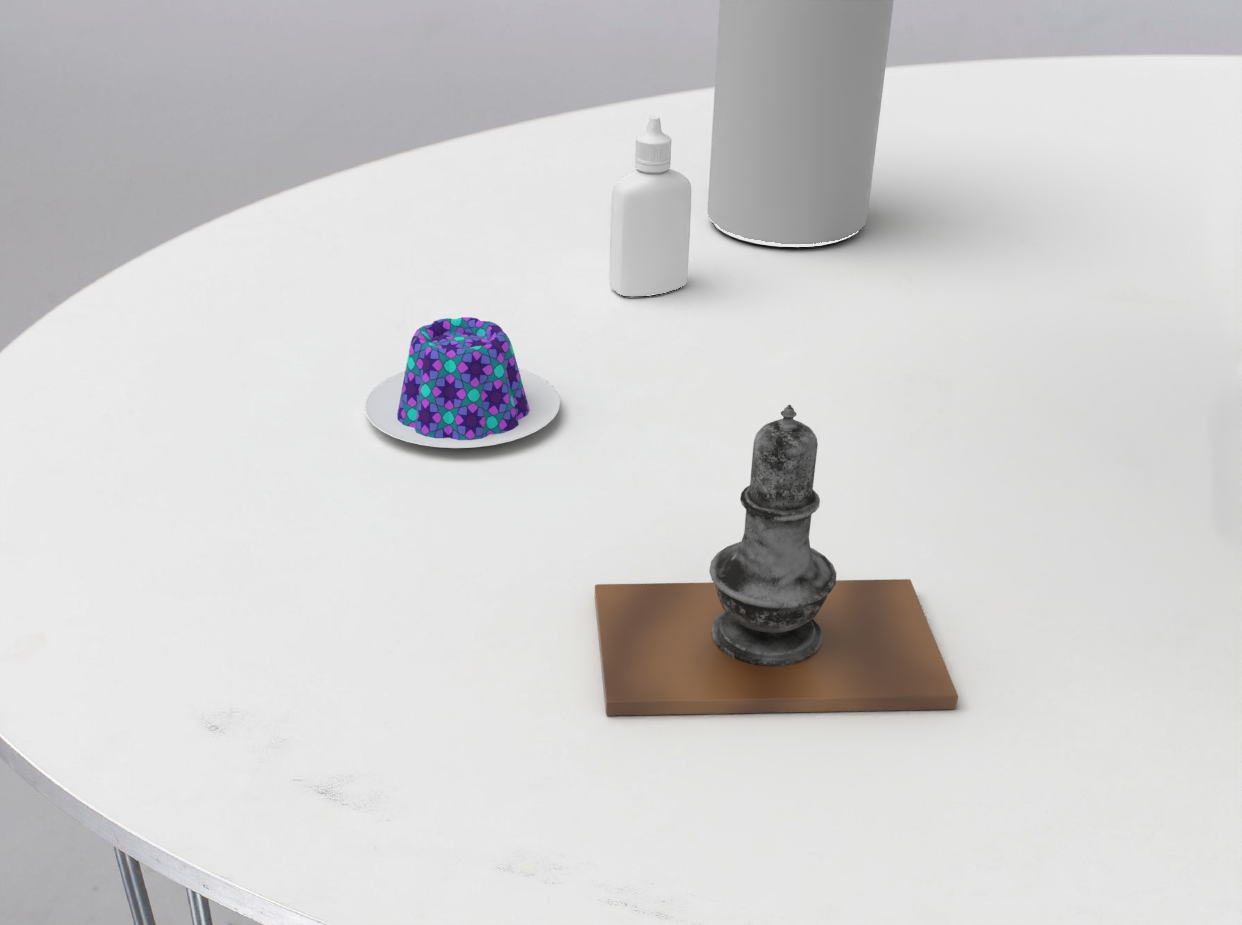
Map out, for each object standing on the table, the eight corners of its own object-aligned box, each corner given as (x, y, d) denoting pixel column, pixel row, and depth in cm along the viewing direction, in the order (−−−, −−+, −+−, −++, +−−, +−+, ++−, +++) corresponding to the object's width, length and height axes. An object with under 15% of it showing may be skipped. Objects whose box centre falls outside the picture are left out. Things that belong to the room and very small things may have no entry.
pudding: (345, 388, 97) (338, 309, 94) (524, 361, 101) (523, 284, 98) (392, 473, 88) (386, 389, 85) (588, 441, 91) (589, 358, 88)
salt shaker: (848, 624, 74) (880, 396, 67) (795, 684, 70) (822, 448, 63) (740, 588, 77) (759, 365, 70) (682, 644, 73) (696, 413, 66)
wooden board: (908, 591, 78) (910, 578, 78) (956, 710, 70) (958, 695, 70) (594, 597, 78) (594, 583, 77) (606, 716, 70) (606, 702, 69)
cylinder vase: (690, 241, 118) (709, -122, 104) (726, 191, 128) (748, -148, 113) (851, 259, 115) (895, -112, 100) (876, 206, 125) (920, -140, 110)
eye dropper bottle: (610, 275, 113) (614, 107, 106) (686, 277, 112) (695, 108, 105) (607, 298, 109) (611, 126, 102) (686, 300, 109) (696, 127, 102)
